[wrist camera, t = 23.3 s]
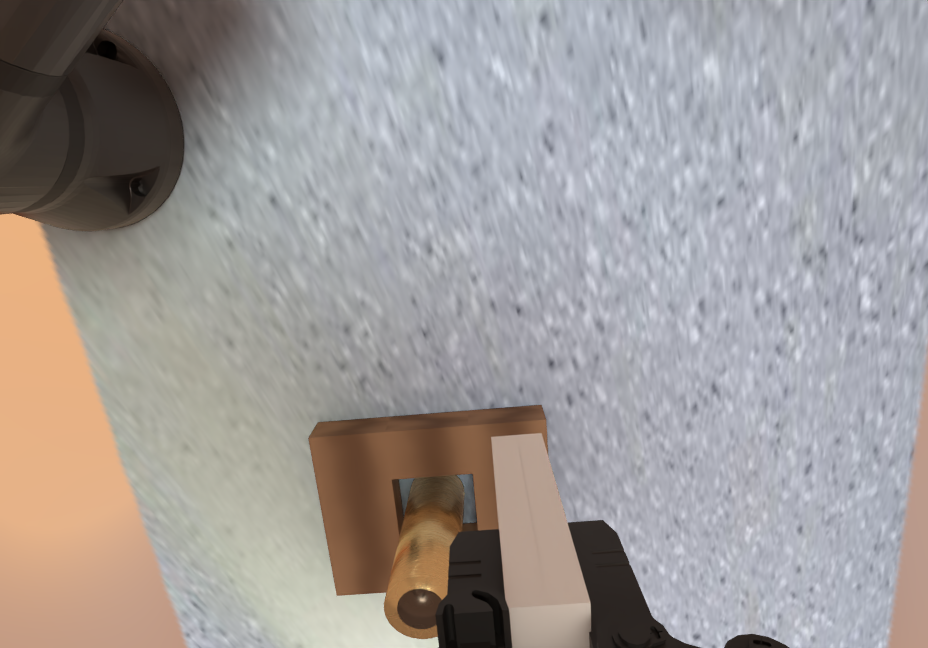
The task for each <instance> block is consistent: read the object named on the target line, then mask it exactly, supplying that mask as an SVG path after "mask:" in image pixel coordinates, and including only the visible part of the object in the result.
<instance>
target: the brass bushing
mask: <svg viewBox="0 0 928 648" xmlns="http://www.w3.org/2000/svg"><path fill="white" fill-rule="evenodd" d="M463 510H464V486H463V484H462V482H461V480H460V479H459V478H458V477H457V476H456V475H447V476H434V477H420V478H415V479H414V481H413V483H412V485H411V490H410V494H409V498H408V503H407V507H406V511H405V515H404V520H403V524H402V528H401V533H400V537H399V541H398V546H397V550H396V554H395V558H394V563H393V567H392V571H391V576H390V580H389V584H388V589H387V593H386V597H385V602H384V612H385V615H386V618H387V620H388V621H389V623H390V624H391V625H392V626H393V627H394V628H395V629H396V630H397V631H399V632H400V633H402V634H404V635H406V636H409V637H412V638H417V639H428V638H433V637H437V636H438V633H437V625H436V617H435V614H436V611H437V608H438V605H439V603H440V602H441V601H442V600H443V599H444V598H445V596H446V595H447V589H448V569H449V550H450V545H451V544H452V542H453V540H454V539H455V537H456V536H457V534H458V532H462V528H463Z"/></svg>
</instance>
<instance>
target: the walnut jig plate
mask: <svg viewBox="0 0 928 648" xmlns="http://www.w3.org/2000/svg"><path fill="white" fill-rule="evenodd" d="M536 433H542V437H543V440H544V443H545V447H546V450H547V454H548V445H547V426H546V418H545V415H544V411H543V408H542V405H534V406H521V407H508V408H496V409H483V410H470V411H457V412H444V413H431V414H419V415H406V416H393V417H380V418H367V419H355V420H342V421H329V422H318V423H317V425H316V427H315V428H314V430H313V431H312V433H311V435H310V436H309V444H310V450H311V455H312V461H313V466H314V472H315V477H316V483H317V488H318V494H319V499H320V505H321V510H322V516H323V522H324V527H325V533H326V538H327V544H328V549H329V555H330V560H331V566H332V571H333V577H334V583H335V588H336V594H337V596H339V595H354V594H369V593H384V592H387V589H388V584H389V580H390V576H391V571H392V567H393V563H394V558H395V554H396V550H397V546H398V541H399V537H400V533H401V528H402V524H403V520H404V516H403V509H402V501H401V494H400V487H399V479H407V478H420V477H434V476H447V475H461V474H473V482H474V493H475V504H476V514H477V523H466V524H463V528H462V532H464V531H478V530H492V529H499V526H498V514H497V502H496V490H495V478H494V466H493V454H492V442H491V437H496V436H509V435H523V434H536Z"/></svg>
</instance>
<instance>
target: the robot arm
mask: <svg viewBox="0 0 928 648" xmlns="http://www.w3.org/2000/svg"><path fill="white" fill-rule="evenodd" d="M122 1H123V0H0V214H9V213H13V214H16V215H19V216H22V217H26V218H29V219H32V220H35V221H39V222H42V223H45V224H48V225H52V226H55V227H59V228H63V229H68V230H77V231H99V230H106V229H113V228H120V227H124V226H128V225H131V224H133V223H136V222H138V221H140V220H142V219H144V218H145V217H147V216H149V215H150V214H151V213H153V212H154V211H155V210H156V209H157V208H159V206H160V205H161V204H162V203H163V202H164V201H165V200H166V198H167V197H168V196H169V194H170V193H171V191H172V189H173V187H174V185H175V183H176V181H177V178H178V176H179V173H180V169H181V165H182V159H183V147H184V142H183V129H182V124H181V119H180V115H179V111H178V108H177V105H176V103H175V100H174V98H173V96H172V93H171V91H170V89H169V88H168V86H167V84H166V82H165V81H164V79H163V78H162V76H161V75H160V73H159V72H158V71H157V69H156V68H155V67H154V66H153V64H152V63H151V62H150V61H149V60H148V59H147V58H146V57H145V56H144V55H143V54H142V53H141V52H140V51H139V50H137V49H136V48H135V47H134V46H132V45H131V44H130V43H128V42H127V41H125V40H124V39H122V38H121V37H119V36H117V35H115V34H113V33H111V32H109V31H107V30H104V29H103V27H104V26H105V25H106V23H107V22H108V21H109V19H110V18H111V16H112V15H113V14H114V12H115V11H116V10H117V8H118V7H119V5H120V4H121V3H122ZM491 442H492V454H493V466H494V478H495V490H496V502H497V514H498V526H499V529H492V530H478V531H464V532H458V534H457V536H456V537H455V539H454V540H453V542H452V544H451V545H450V550H449V569H448V589H447V595H446V596H445V598H444V599H443V600H442V601H441V602H440V603H439V605H438V608H437V611H436V614H435V617H436V625H437V633H438V641H439V648H700V647H696V646H692V645H689V644H686V643H683V642H681V641H679V640H677V639H675V638H673V637H672V636H670V635H669V633H668V632H667V631H666V629H665V628H664V626H663V625H662V624H660V623H659V622H658V621H656V620H655V619H654V618H653V617H652V615H651V613H650V611H649V608H648V606H647V603H646V601H645V599H644V596H643V594H642V592H641V589H640V587H639V584H638V582H637V580H636V577H635V575H634V573H633V570H632V568H631V565H629V561H628V558H627V556H626V554H625V552H624V549H623V546H622V544H621V542H620V539H619V537H618V535H617V533H616V532H615V531H614V530H613V529H612V528H611V527H610V526H609V525H607V524H606V523H605V522H604V521H603V520H598V521H584V522H570V523H567V520H566V516H565V513H564V509H563V506H562V502H561V499H560V495H559V492H558V488H557V485H556V482H555V478H554V475H553V471H552V468H551V464H550V461H549V457H548V454H547V450H546V447H545V443H544V440H543V437H542V433H536V434H523V435H509V436H496V437H491ZM724 648H789V647H788V646H786V645H785V644H782V643H780V642H778V641H776V640H774V639H772V638H769V637H765V636H760V635H755V634H747V635H738V636H736V637H734V638H733V639H731V640H729V641H727V643H726V645H725V647H724Z"/></svg>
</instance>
